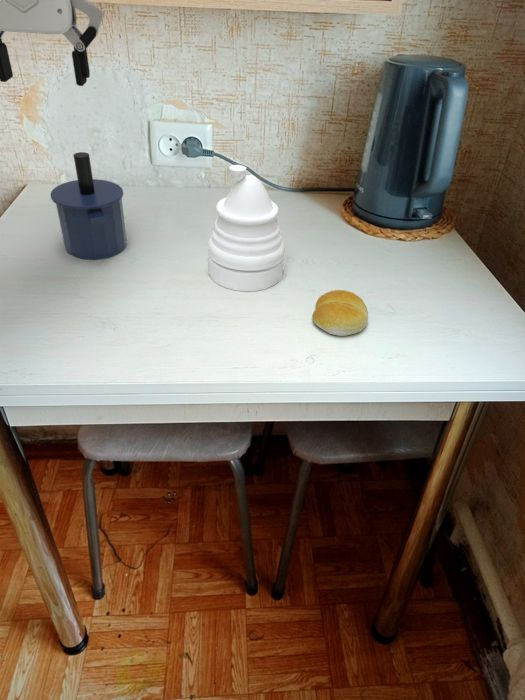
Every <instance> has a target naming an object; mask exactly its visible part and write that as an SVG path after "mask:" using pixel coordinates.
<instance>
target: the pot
mask: <svg viewBox="0 0 525 700" xmlns="http://www.w3.org/2000/svg"><path fill="white" fill-rule="evenodd" d="M55 206H56V211H57V216H58V220H59V226H60V230H61V231H60V232H61V235H62V240H63V244H64V249H65V251H66V253H67V254H69V255H70V256H72V257H74V258H77V259H81V260H94V261H95V260H103V259H108V258H112V257H114V256H117V255H119V254H120V253H122V252H123V251H124V250H125V249H126V247H127V241H128V240H127V232H126V223H125V217H124V215H125V214H124V207H123V197H122V198H121V200H119V201H118V202H117V203H115V204H112V205H110V206H107V207H103V208H98V209H88V210H80V209H70V208H65V207H62V206H59V205H57V204H55Z"/></svg>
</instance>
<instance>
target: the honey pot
mask: <svg viewBox="0 0 525 700" xmlns="http://www.w3.org/2000/svg"><path fill="white" fill-rule="evenodd" d="M228 171H229V175H230V177H231V179H233V180H234V181H236V182H235V183H234V184H233V186H232V187H231V189H230V190H229V192H228V194H227V196H225V197H224V198H223V197H222V198H221V199H220V200H219V201H218V202H216V205H215V211H216V214H217V215H218V216H217V218H216V219H215V221H214V223H213V228H212V231H211V235H210V236H209V239H208V242H207V273H208V276H209V277H210V279H211V280H212V281H213V282H214V283H215V284H217V285H219V286H220V287H223V288H225V289H228V290H233V291H237V292H258V291H263V290H267V289H270V288H272V287H274V286H276V284H278V283H279V282H280V281H281V279H282V277H283V268H284V257H285V242H284V240H283V235H282V232H281V225H280V222H279V221H278V218H277V217H278V216H279V213H280V208H279V206H278V205H277V203H275V202H274V201H273V200H272V199H271V197H270V195H269V192H268V191H267V189H266V187H265V186H264V184H263V182H262V181H261V180H260V179H259V178H258V177H256V176H255V175H254V174H247V167H246V166H244V165H242V164H231V165H230V166H229V167H228Z"/></svg>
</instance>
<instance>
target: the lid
mask: <svg viewBox="0 0 525 700" xmlns="http://www.w3.org/2000/svg"><path fill="white" fill-rule="evenodd" d="M90 157H91V156H90V154H89V153H88V152H85V151H83V152H82V151H79V152H75V153H73V160H74V166H75V172H76V178H77V179H75V180H71V181H66V182H63V183H61V184H58V185H57V186H55V187H53V189H52V190H51V192H50V199H51V201H52V202H53V203H54V204H55V205H56V204H57V205H59V206H62V207H65V208H70V209H80V210H88V209H98V208H103V207H107V206H110V205H112V204H115V203H117V202H118V201H119V200H121V198H122V199H123V197H124V189H123V188H122V187H121V186H120V185H119V184H117V183H115V182H112V181H110V180H105V179H96V178H95V179H94V177H93V171H92V165H91V163H92V162H91V158H90Z"/></svg>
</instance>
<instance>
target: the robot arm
mask: <svg viewBox="0 0 525 700" xmlns="http://www.w3.org/2000/svg"><path fill="white" fill-rule="evenodd" d="M76 9H77V10H78V11H79V12H81V13H83V14H85V15H86V16H87V17H88V19H89V20H88V25H87V28H86V29H85V30H84V32H82V31H81V30H80V29H79V28H78V26H77V11H76ZM104 17H105V13H104V10H103V9H102V8H100V7H99V6H97V5H95V4H94V3H92V2H90V1H88V0H0V83H6V82H7V81H9V80H11V79H12V78H13V77H14V74H13V73H14V72H13V69H12V65H11V60H10V55H9V51H8V46H7V44H6V43H5V42H3V39H2V38H3V36H4V35H5V34H6V32H8V33H9V32H10V33H25V34H41V35H63V36H64V37H65V38H66V39H67V41H68V42H69V43H70V44H71V45H72V46H73V51H72V52H71V57H72V64H73V70H74V71H73V72H74V77H75V83H76V85H77V86H78V87H84V85H85V84H86V83H87V80H88V79H89V78H90V77H91V76H90V75H91V72H90V66H89V65H90V64H89V58H88V51H87V50H88V47H89V46H90V45H91V44H92V42H93V41H94V39H96V37H97V36H98V34H99V31H100V28H101V25H102V22H103V19H104Z"/></svg>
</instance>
